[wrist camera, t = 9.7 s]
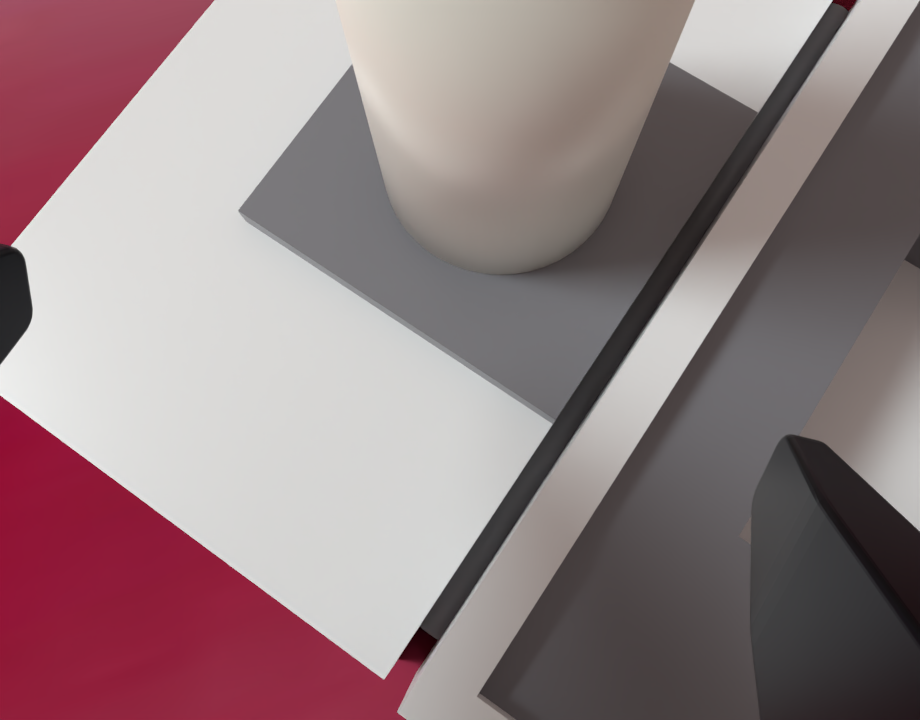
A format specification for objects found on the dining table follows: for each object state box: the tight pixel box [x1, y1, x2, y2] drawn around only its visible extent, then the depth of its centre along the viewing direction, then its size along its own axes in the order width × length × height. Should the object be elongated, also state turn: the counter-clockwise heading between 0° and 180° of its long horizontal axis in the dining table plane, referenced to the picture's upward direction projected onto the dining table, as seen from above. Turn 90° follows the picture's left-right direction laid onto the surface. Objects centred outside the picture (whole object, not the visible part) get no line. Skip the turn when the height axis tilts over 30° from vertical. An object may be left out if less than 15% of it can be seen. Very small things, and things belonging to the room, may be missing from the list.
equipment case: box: [0, 0, 920, 720], centre depth 17 cm, size 20×28×4 cm
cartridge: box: [335, 0, 695, 275], centre depth 12 cm, size 5×5×10 cm
